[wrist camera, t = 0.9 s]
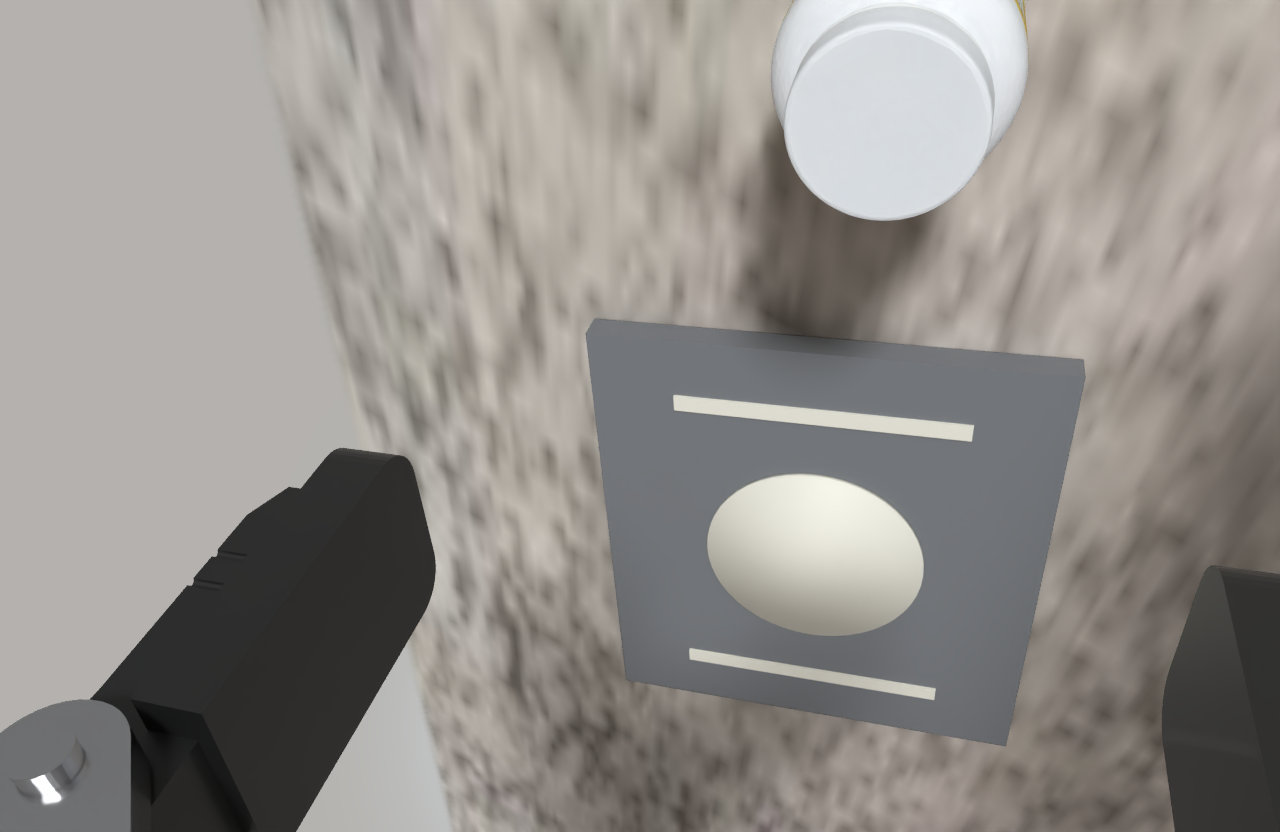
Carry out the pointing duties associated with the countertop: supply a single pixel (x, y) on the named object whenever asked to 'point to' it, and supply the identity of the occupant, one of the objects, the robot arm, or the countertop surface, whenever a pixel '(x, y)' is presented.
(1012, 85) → the supplement bottle
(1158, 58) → the countertop surface
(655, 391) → the slate board
